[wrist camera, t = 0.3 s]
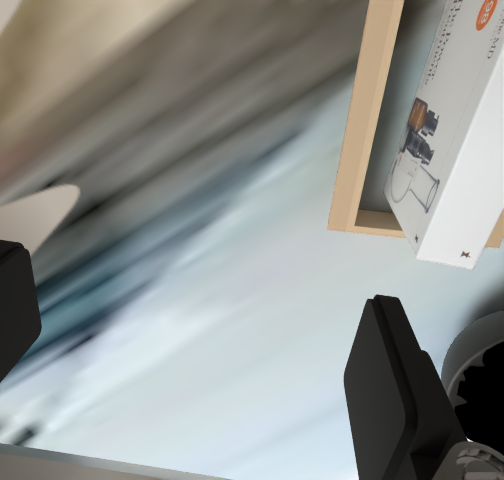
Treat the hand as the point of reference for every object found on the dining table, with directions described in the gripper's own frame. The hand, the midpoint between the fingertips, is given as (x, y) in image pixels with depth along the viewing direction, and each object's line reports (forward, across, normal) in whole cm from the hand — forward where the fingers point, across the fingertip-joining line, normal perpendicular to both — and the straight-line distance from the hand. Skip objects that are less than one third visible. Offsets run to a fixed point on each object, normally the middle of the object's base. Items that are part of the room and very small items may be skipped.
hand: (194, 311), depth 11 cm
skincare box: (+36, -18, -3) cm, 40 cm away
